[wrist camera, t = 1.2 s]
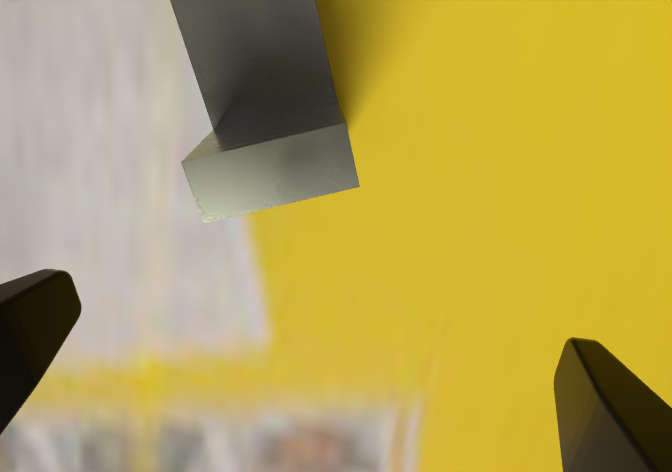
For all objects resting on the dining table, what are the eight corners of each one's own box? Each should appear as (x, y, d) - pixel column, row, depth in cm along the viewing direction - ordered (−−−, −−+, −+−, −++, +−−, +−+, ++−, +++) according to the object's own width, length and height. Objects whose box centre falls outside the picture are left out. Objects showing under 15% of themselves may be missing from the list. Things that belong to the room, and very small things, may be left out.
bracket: (344, 139, 21) (360, 186, 14) (236, 164, 21) (204, 223, 14) (299, -67, 17) (292, -125, 11) (172, -35, 18) (93, -73, 11)
